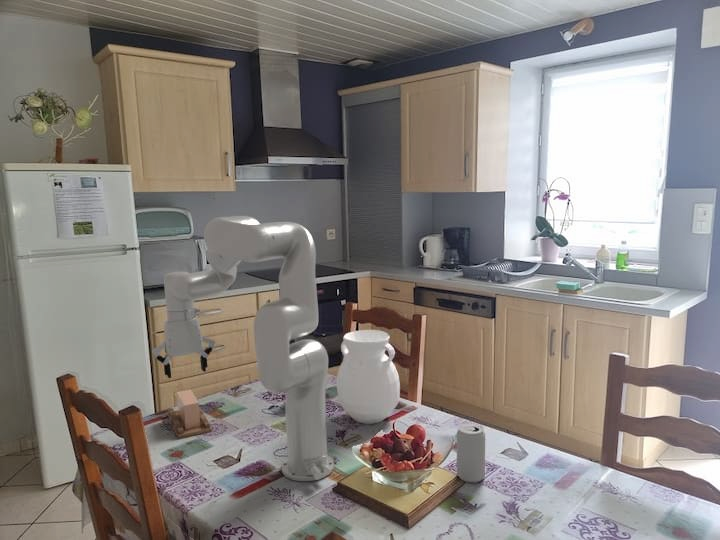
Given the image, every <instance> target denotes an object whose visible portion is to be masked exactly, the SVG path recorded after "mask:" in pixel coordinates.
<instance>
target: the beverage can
mask: <svg viewBox="0 0 720 540" xmlns="http://www.w3.org/2000/svg"><path fill="white" fill-rule="evenodd" d="M484 430H485V429H484V427H483V426H482V425H480V424H478V423H473V422H471V423H469V422H467V423H462V424H460V425H459V426H458V430H457V431H456V475H457V477H458V476H459V477H460V478H459V479H460V480H462V481H464V482H465V483H471V484H474V483H479V482H481V481H483V479H484V478H485V477H486V433H485V431H484Z"/></svg>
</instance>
